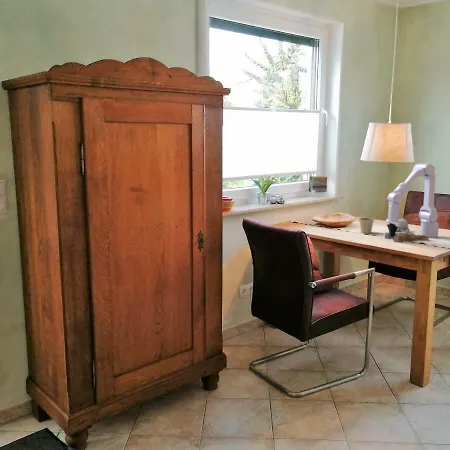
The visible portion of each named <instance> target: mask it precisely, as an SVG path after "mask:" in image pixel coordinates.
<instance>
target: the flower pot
mask: <svg viewBox="0 0 450 450" xmlns="http://www.w3.org/2000/svg"><path fill="white" fill-rule="evenodd" d="M358 221H359V228H360V233H361V234H371V233H372V230H373V225H374V224H373V223H374V221H375V219H374V218H373V217H372V218H371V217H359V218H358Z"/></svg>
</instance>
